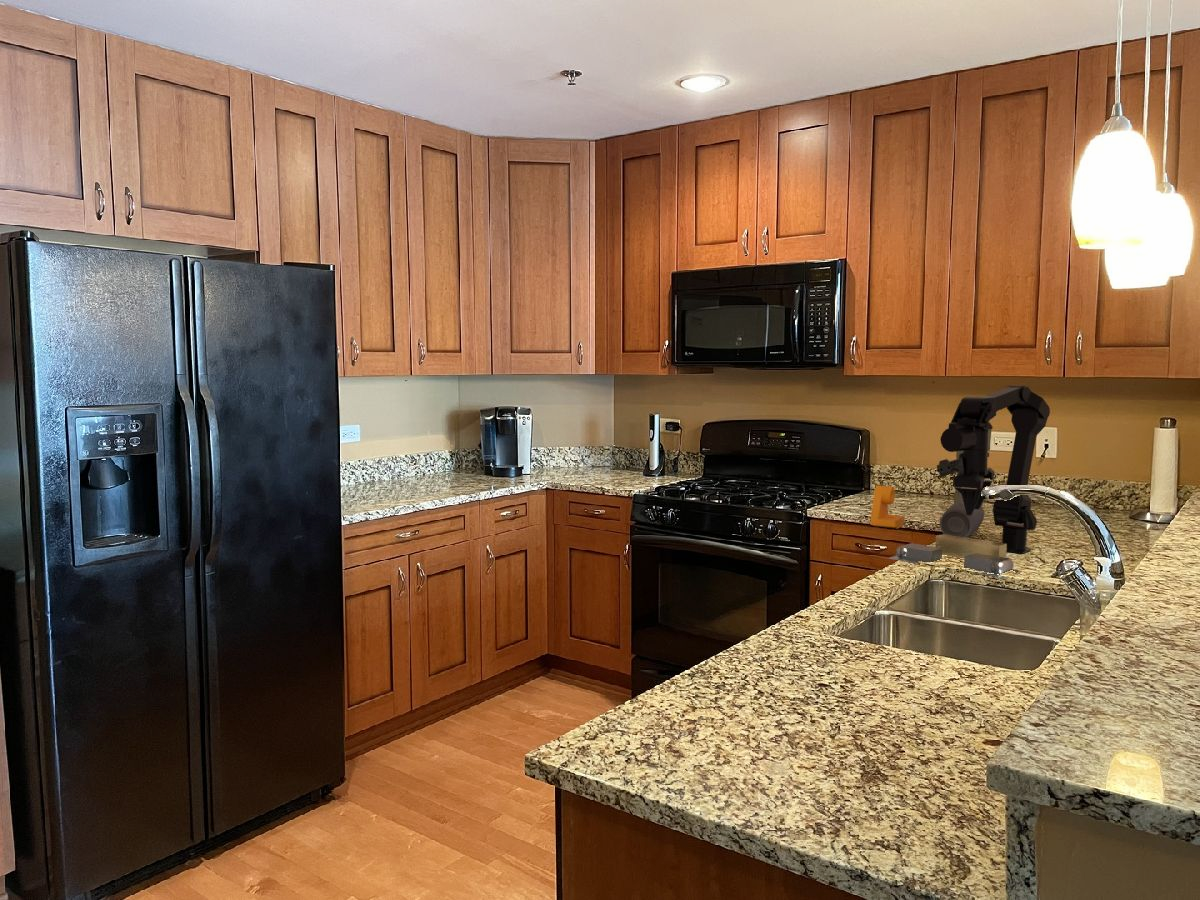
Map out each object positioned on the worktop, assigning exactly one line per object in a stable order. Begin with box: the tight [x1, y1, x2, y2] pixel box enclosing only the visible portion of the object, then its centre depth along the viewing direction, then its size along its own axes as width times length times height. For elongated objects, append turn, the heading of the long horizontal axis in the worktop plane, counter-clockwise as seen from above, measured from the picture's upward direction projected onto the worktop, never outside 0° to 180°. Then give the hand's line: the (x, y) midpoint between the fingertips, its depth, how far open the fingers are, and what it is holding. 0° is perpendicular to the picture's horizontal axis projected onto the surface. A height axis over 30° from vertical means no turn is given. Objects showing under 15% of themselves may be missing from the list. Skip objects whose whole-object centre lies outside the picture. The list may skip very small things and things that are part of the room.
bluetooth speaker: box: [939, 500, 985, 538], centre depth 247 cm, size 23×9×10 cm, turn 149°
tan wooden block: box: [934, 533, 1007, 559], centre depth 220 cm, size 4×16×5 cm, turn 42°
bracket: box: [870, 485, 905, 530], centre depth 264 cm, size 11×7×12 cm, turn 147°
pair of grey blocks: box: [888, 543, 1021, 579], centre depth 213 cm, size 10×28×3 cm, turn 45°
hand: (973, 512), depth 217 cm, fingers open, 9 cm apart
